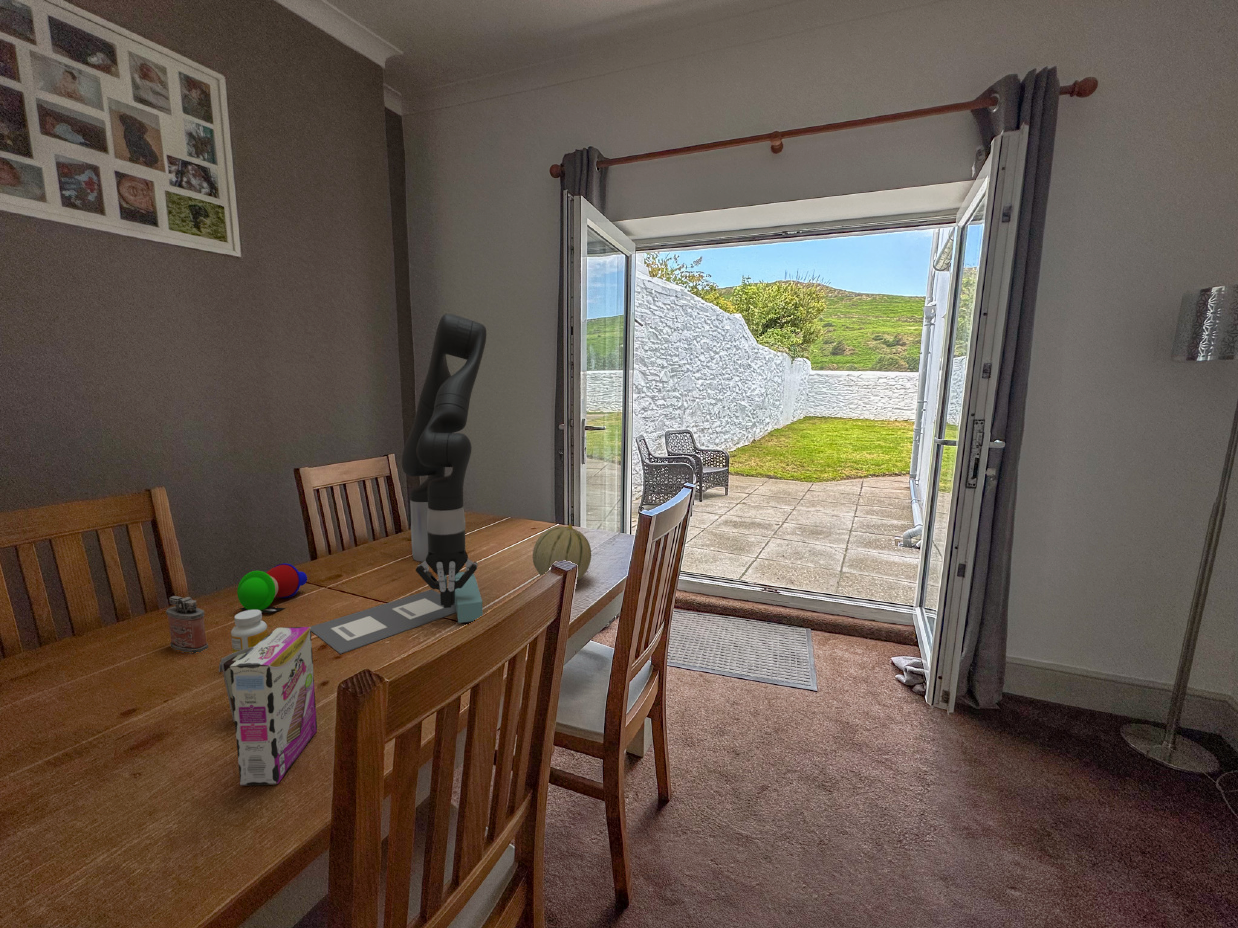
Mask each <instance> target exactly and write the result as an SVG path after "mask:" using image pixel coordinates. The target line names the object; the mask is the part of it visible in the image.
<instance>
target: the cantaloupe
mask: <svg viewBox="0 0 1238 928" xmlns="http://www.w3.org/2000/svg"><path fill="white" fill-rule="evenodd" d="M563 560H566V561H571V562H572V563H575V564H577V565H578V577H577V581H579V580H581V579H582V577H583V576H584V575H585V574H586V572H587V571H588V569H589V568H590V564H591V561H592V548H591V545H590V541H589V540H588V539H587V537H586V536H585V535H584V534H583V533H582V532H580V531H579V530H577V529H575V528H573V525H572V523H568V526H561V525H558V526H553V527H550V528H548V529H547V530H544V532H542V533H541V535H540V536H539V537H538V538H537V539H536V541H535V543H534V545H533V551H532V563H533V566H534V568H535V571H536V572H537V573H538V574H539V576H540V577H541V575H543V574H545V572H547V571H548V570H549V568H550V567H551V565H552V564H553V563H554V562H555V561H563Z"/></svg>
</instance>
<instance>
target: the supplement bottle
mask: <svg viewBox="0 0 1238 928" xmlns="http://www.w3.org/2000/svg"><path fill="white" fill-rule="evenodd" d="M262 613H263V612H261V611H260V610H242V611H240V612H238V613H237V614H235V615H234V618H233V619H234V624H235V626H234V627H233V628H232V629H231V631H230V637H231V649H232V650H231V651H232V653H235V652H237V651H240V650H243V649H247V648H250V647H254V646H256V645H257V644H258V643H259V642H261V641H262V640H263V639H264V638H265V637H267V636H268V635H269V632H268V625H267V623H266V622H265V621H264V620H263V614H262Z"/></svg>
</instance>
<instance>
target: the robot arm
mask: <svg viewBox="0 0 1238 928" xmlns="http://www.w3.org/2000/svg"><path fill="white" fill-rule="evenodd" d="M487 335H488V333H487V328H486V326H485V325H484V324H482V323H480V322H479V321H475V320H472V319H469V318H466V317H462V316H460V315H459V316H458V315H455V314H453V313H444V314H442V316H441V318H440V319H439V321H438V324H437V328H436V331H435V335H434V339H433V340H434V341H433V345H432V352H431V355H430V361H429V365H428V369H427V370H428V371H427V374H426V377H425V380H424V383H423V385H422V390H421V393H420V396H419V398H418V399H419V400H418V403H417V408H416V413H415V416H414V420H413V424H412V427H411V430H410V432H409V435H408V437H407V440H406V442H405V444H404V447H403V450H402V455H401V468H402V470H403V473H404V474H405V475H406V476H409V477H426V476H427V478H426V479H425V480H424V481H423V482H421V484H419V485H417V486H415V487H413V488H412V489H411V490H409V501H410V503H409V506H410V521H411V525H410V535H411V537H410V539H411V554H412V555H411V556H412V559H413V560H414V561H415V562H421V563H418V564H417V566H416V568H415V572H416V573H417V575H418V576H420V577H421V579H422V580H423V581H424V582H425V583H426V584H427V585H428V586H429V588H431V589H432V590H438V591H439V593H440V599H441V605H444V608H451V606H452V605H454V602H455V589H457V588H462V587H463V586H464V584H465V583H466V582H467V581H468V579H469V578H470V577H471V576H472V574H473V573H474V574H475V572H476V571H477V569H478V565H479V564H478V562H477V561H473V560H471V559H469V555H468V553H467V551H466V517H465V516H466V515H465V510H464V483H465V479H466V478H465V477H466V473H467V472H466V471H467V468H468V465H469V462H470V458H471V454H472V443H471V440H470V439H469V437H468V436H467V435H465V434H464V433H460V432H461V431H462V430H464V428H465V427H466V425H467V422H468V414H469V410H470V409H469V408H470V402H471V396H472V392H473V389H474V386H475V382H476V379H477V377H478V373H479V370H480V365H481V361H482V358H483V355H484V350H485V348H486V347H485V346H486V342H487ZM447 355H449V356H452V357H455V358H459V359H462V360H466V362H465V363H464V364H463V365H462V367H460V369H458V370H457V371H456V372H455V373H453V374H452V375H451V372H450V370H449V365H448V363H447ZM446 468H452V469H451V473H450V474H448V475H447V476H446ZM463 567H465V571H464V572H465V573H464V574H463V575H462V576H461V578H460V579H459V580H458V581H456V574H457V573H459V572H461V570H462V569H463ZM430 569H431V570H432V571H433V572H434V573H435V574H436V575H437V578H438V579H437V578H436V577H435V576H434V575H433V573H432V572H430ZM447 576H448V579H447Z"/></svg>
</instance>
